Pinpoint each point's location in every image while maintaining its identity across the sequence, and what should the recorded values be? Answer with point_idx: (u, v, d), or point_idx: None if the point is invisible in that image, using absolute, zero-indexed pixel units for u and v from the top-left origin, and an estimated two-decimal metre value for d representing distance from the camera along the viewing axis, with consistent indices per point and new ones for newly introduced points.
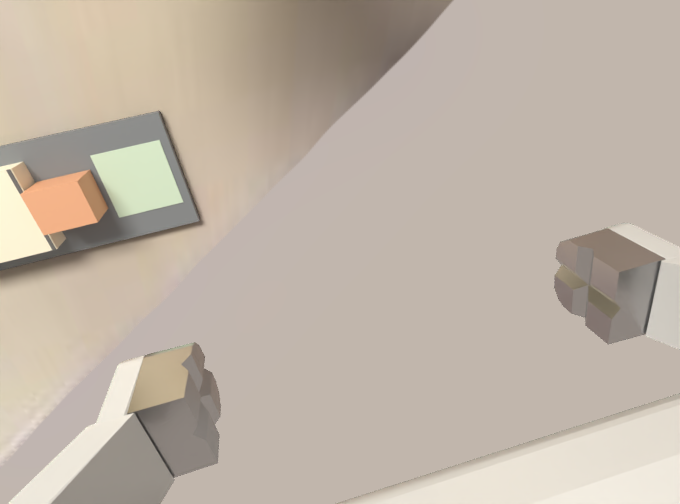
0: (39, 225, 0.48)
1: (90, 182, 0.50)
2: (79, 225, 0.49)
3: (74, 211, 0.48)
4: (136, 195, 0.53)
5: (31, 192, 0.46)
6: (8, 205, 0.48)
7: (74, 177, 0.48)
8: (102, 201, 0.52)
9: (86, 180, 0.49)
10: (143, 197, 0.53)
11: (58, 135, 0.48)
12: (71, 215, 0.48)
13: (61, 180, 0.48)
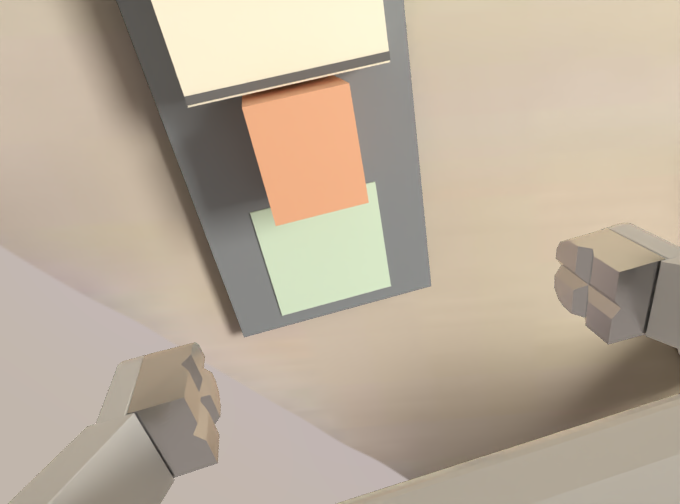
0: (269, 104, 0.19)
1: None
2: (268, 189, 0.21)
3: (302, 185, 0.21)
4: (295, 245, 0.28)
5: (351, 108, 0.20)
6: (306, 27, 0.20)
7: None
8: None
9: None
10: (291, 256, 0.28)
11: (414, 136, 0.26)
12: (292, 177, 0.21)
13: None
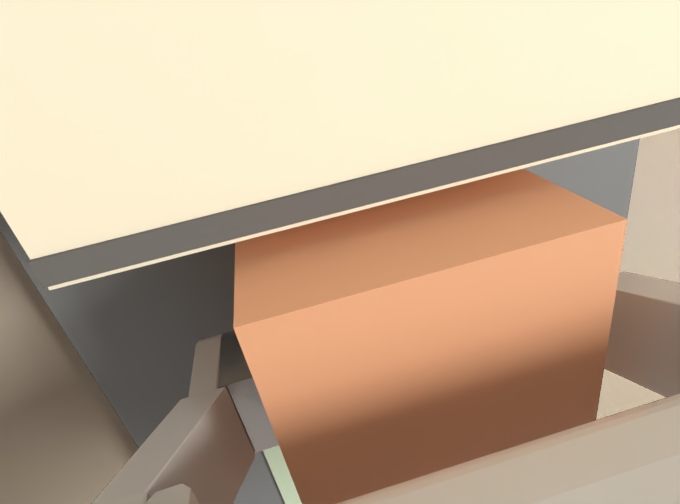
0: (340, 310, 0.05)
1: None
2: None
3: None
4: None
5: (607, 293, 0.06)
6: (468, 16, 0.05)
7: None
8: None
9: None
10: None
11: None
12: (393, 482, 0.07)
13: None
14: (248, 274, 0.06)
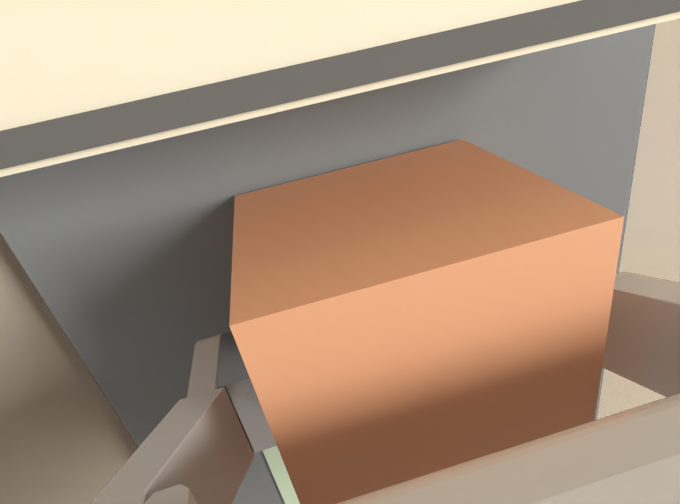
0: (337, 307, 0.05)
1: None
2: None
3: None
4: None
5: (605, 291, 0.06)
6: None
7: None
8: None
9: None
10: None
11: (623, 208, 0.11)
12: (391, 481, 0.07)
13: None
14: (245, 272, 0.06)
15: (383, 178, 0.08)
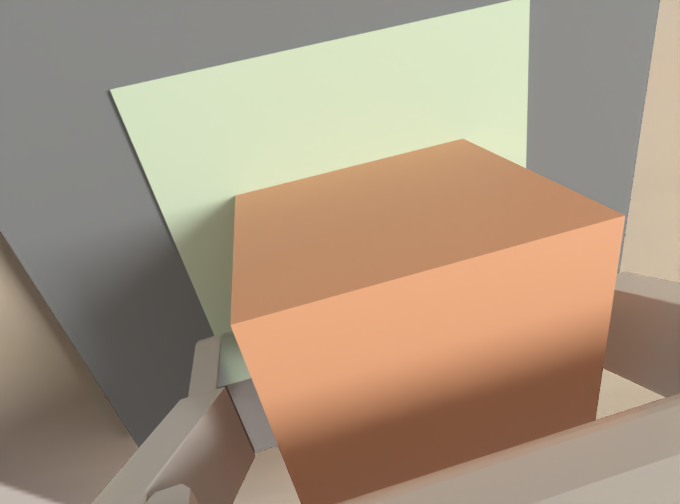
0: (338, 306, 0.05)
1: None
2: None
3: None
4: None
5: (606, 290, 0.06)
6: None
7: None
8: None
9: None
10: None
11: None
12: (392, 481, 0.07)
13: None
14: (246, 272, 0.06)
15: (384, 177, 0.08)
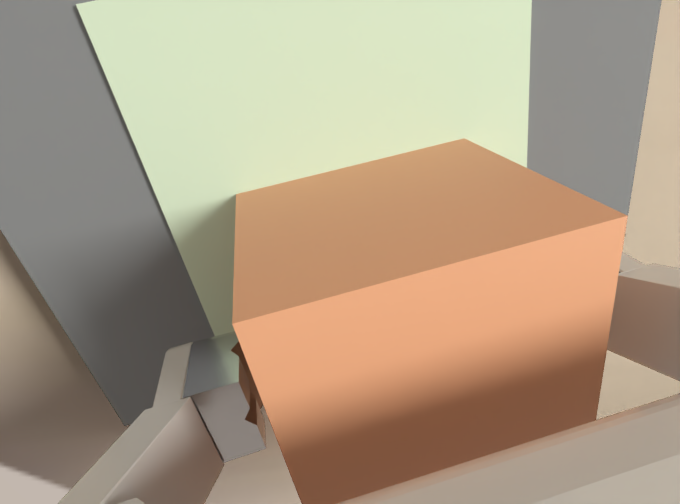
0: (340, 306, 0.05)
1: None
2: None
3: None
4: (257, 151, 0.09)
5: (607, 290, 0.06)
6: None
7: None
8: None
9: None
10: (245, 187, 0.09)
11: None
12: (393, 480, 0.07)
13: None
14: (247, 271, 0.06)
15: (385, 177, 0.08)
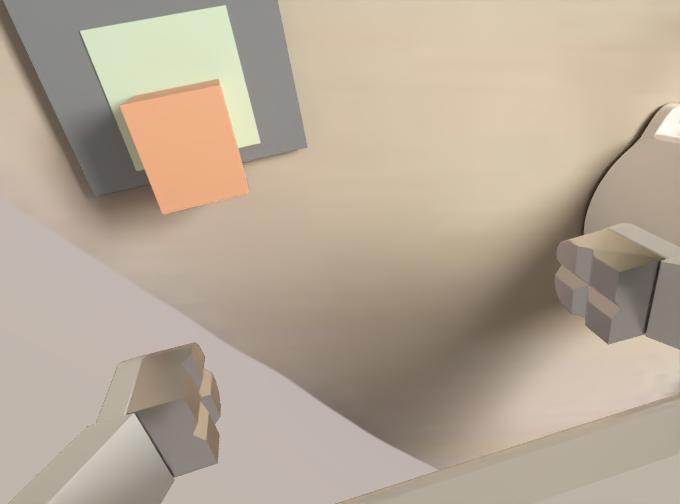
0: (146, 103, 0.22)
1: None
2: (152, 180, 0.23)
3: (184, 176, 0.24)
4: (141, 80, 0.25)
5: (224, 108, 0.23)
6: None
7: (243, 167, 0.26)
8: None
9: None
10: (137, 93, 0.25)
11: None
12: (174, 169, 0.23)
13: (236, 144, 0.26)
14: (127, 101, 0.22)
15: (182, 87, 0.25)
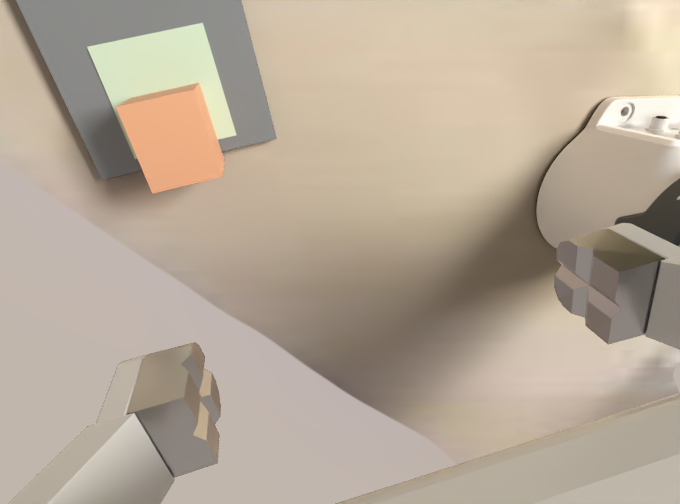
0: (136, 105, 0.28)
1: None
2: (143, 166, 0.29)
3: (168, 163, 0.30)
4: (136, 85, 0.31)
5: (198, 107, 0.28)
6: None
7: (219, 156, 0.32)
8: None
9: None
10: (134, 96, 0.31)
11: None
12: (160, 157, 0.29)
13: (213, 136, 0.32)
14: (123, 103, 0.28)
15: (168, 90, 0.31)
